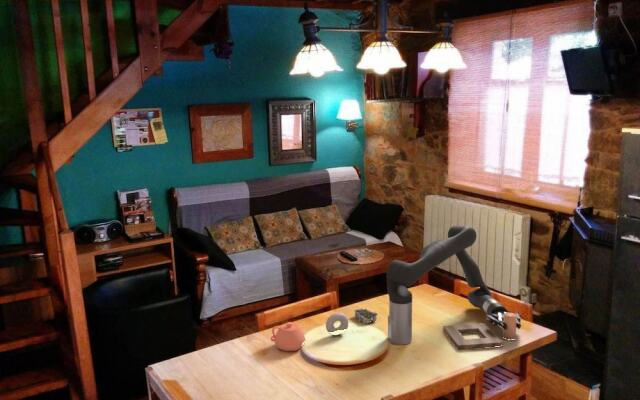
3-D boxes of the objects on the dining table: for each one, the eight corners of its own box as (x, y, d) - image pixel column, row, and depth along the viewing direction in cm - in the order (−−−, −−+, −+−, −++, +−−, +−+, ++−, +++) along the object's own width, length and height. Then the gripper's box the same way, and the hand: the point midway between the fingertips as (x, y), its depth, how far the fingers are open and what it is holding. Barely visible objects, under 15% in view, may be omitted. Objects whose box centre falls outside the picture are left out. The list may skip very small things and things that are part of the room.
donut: (327, 339, 217) (327, 316, 215) (324, 335, 220) (324, 313, 218) (349, 335, 220) (349, 312, 218) (346, 331, 223) (346, 309, 221)
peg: (506, 341, 211) (507, 317, 209) (500, 335, 216) (501, 312, 214) (517, 340, 212) (519, 317, 210) (512, 334, 217) (513, 312, 215)
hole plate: (458, 350, 205) (458, 345, 204) (443, 330, 222) (443, 325, 222) (502, 346, 207) (502, 342, 206) (483, 327, 224) (484, 323, 224)
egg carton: (378, 322, 232) (378, 314, 231) (363, 325, 229) (363, 317, 229) (367, 313, 242) (367, 305, 241) (352, 316, 239) (352, 308, 238)
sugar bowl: (301, 355, 204) (300, 330, 202) (266, 352, 207) (265, 328, 205) (308, 341, 216) (307, 317, 214) (275, 338, 218) (274, 315, 217)
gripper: (479, 303, 225) (496, 319, 209) (511, 301, 227) (530, 317, 210) (478, 319, 227) (495, 336, 210) (510, 317, 228) (529, 334, 212)
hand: (512, 326), depth 210 cm, fingers closed on peg, 5 cm apart
